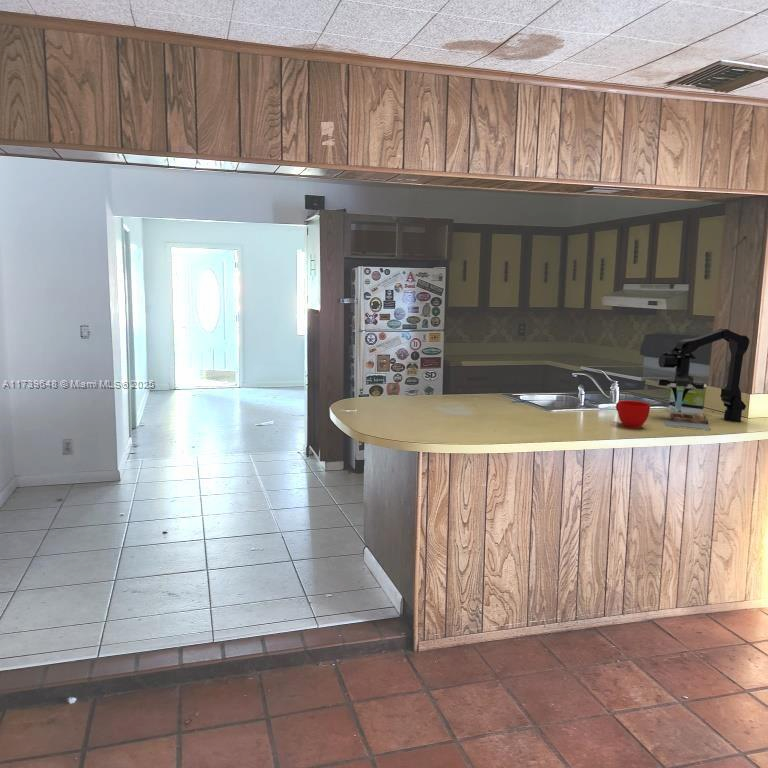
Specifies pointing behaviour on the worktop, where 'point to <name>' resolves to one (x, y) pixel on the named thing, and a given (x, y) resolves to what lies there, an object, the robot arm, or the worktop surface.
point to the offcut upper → (698, 416)
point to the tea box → (689, 401)
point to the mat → (687, 425)
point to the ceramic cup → (632, 413)
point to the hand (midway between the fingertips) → (678, 402)
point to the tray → (687, 418)
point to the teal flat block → (679, 399)
